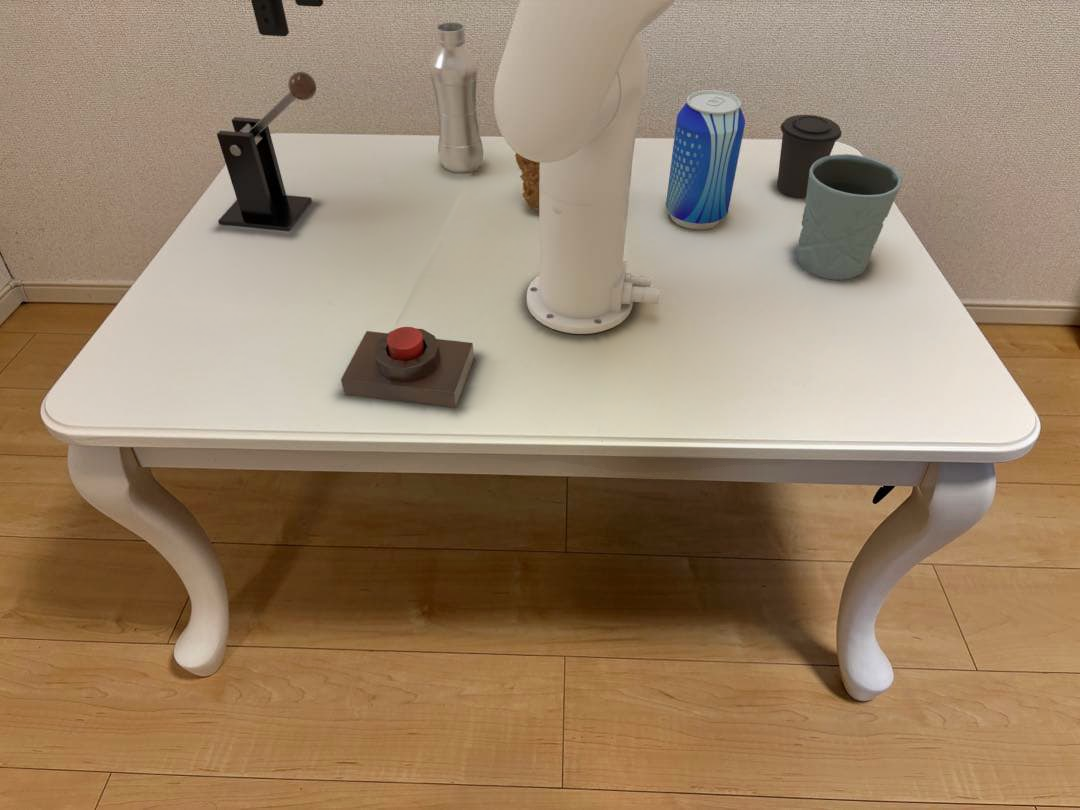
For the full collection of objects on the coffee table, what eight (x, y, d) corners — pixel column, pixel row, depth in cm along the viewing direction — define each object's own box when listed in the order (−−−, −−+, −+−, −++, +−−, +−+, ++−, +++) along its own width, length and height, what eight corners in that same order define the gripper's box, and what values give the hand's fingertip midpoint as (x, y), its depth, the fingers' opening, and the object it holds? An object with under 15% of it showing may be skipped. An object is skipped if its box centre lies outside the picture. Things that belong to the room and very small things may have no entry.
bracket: (313, 204, 107) (292, 115, 98) (290, 235, 102) (265, 143, 93) (246, 198, 108) (219, 110, 99) (220, 228, 103) (189, 137, 94)
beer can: (736, 228, 103) (760, 111, 91) (678, 236, 101) (695, 118, 90) (711, 197, 108) (731, 83, 97) (655, 204, 107) (669, 90, 96)
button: (428, 341, 80) (426, 328, 79) (418, 363, 78) (416, 350, 77) (395, 337, 81) (393, 324, 79) (384, 359, 78) (382, 346, 77)
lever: (325, 84, 92) (305, 61, 90) (315, 95, 90) (294, 72, 88) (255, 150, 100) (235, 130, 98) (244, 161, 98) (223, 141, 96)
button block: (474, 358, 84) (471, 329, 81) (455, 408, 78) (452, 380, 75) (369, 346, 85) (363, 317, 82) (344, 394, 80) (337, 366, 77)
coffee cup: (755, 182, 111) (769, 115, 104) (800, 170, 114) (817, 104, 107) (790, 208, 106) (808, 139, 99) (836, 195, 109) (857, 127, 102)
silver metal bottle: (478, 180, 112) (468, 37, 98) (434, 176, 113) (418, 33, 99) (489, 160, 116) (481, 20, 102) (446, 156, 117) (433, 17, 103)
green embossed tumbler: (886, 277, 94) (919, 189, 86) (812, 289, 93) (839, 200, 84) (843, 234, 101) (870, 148, 93) (773, 244, 100) (795, 158, 91)
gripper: (248, -154, 67) (293, 49, 79) (322, -183, 79) (352, -3, 91) (169, -156, 68) (225, 45, 80) (254, -185, 80) (292, -7, 92)
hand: (293, 19), depth 85 cm, fingers open, 9 cm apart
